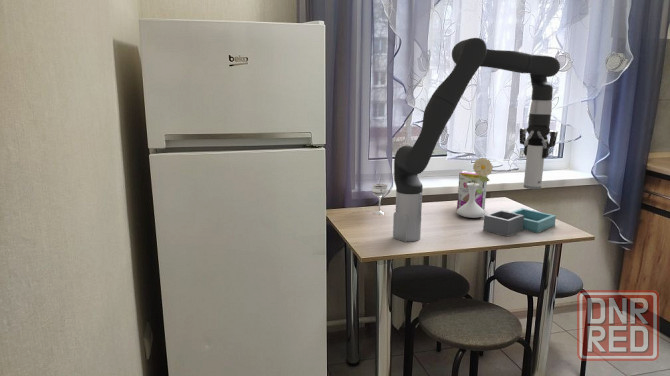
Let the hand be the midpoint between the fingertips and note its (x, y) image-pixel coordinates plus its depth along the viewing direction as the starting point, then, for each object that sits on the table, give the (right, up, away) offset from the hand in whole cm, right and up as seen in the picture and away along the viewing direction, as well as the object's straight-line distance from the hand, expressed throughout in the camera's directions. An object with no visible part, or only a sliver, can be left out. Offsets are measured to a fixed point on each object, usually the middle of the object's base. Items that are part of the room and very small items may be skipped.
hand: (535, 156), depth 178 cm
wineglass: (-57, -23, +23) cm, 66 cm away
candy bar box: (-16, -21, +28) cm, 39 cm away
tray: (0, -26, +6) cm, 27 cm away
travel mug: (0, -12, +3) cm, 12 cm away
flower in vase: (-19, -24, +18) cm, 35 cm away
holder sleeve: (-12, -28, 0) cm, 31 cm away
